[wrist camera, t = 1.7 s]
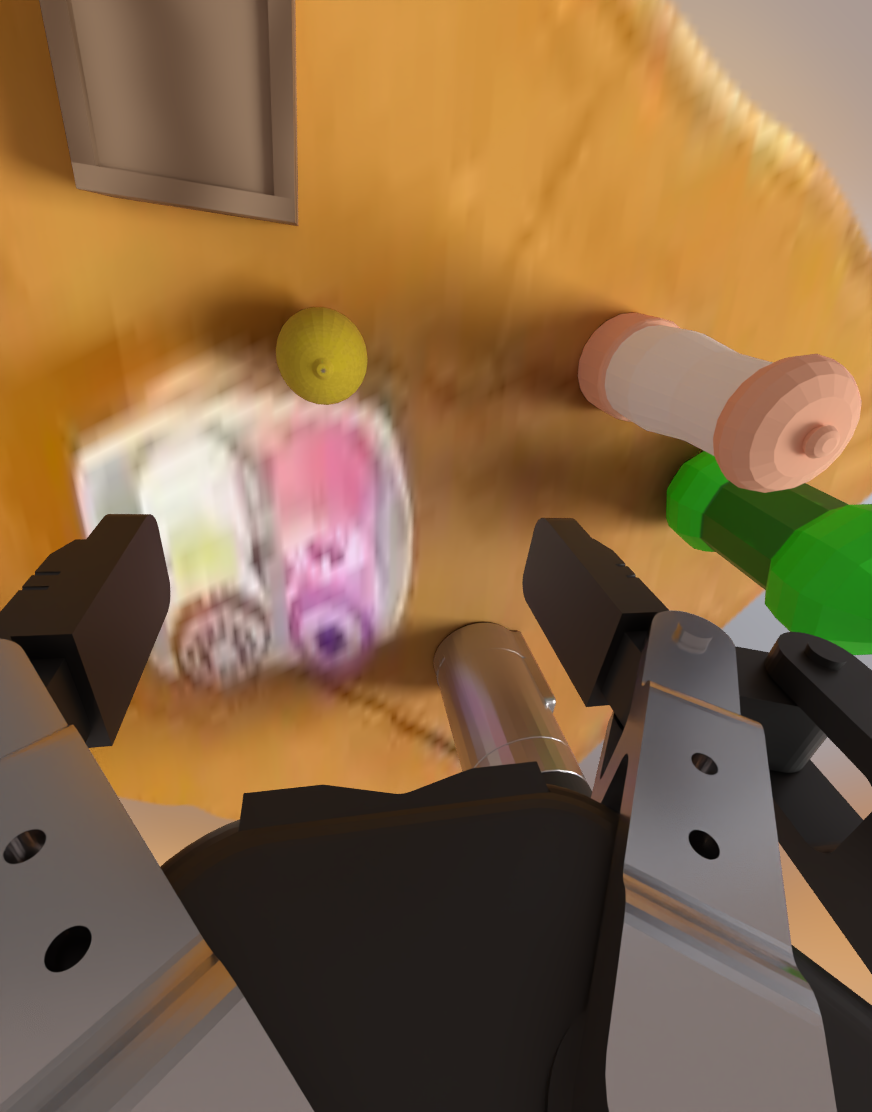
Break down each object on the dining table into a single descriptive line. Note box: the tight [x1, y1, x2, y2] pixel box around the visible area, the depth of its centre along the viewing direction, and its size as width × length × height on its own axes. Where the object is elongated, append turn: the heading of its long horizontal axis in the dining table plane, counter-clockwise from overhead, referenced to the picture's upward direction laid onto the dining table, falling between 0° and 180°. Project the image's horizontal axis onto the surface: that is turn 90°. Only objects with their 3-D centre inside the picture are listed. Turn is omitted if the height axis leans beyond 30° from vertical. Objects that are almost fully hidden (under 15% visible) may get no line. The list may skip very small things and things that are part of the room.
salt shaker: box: [578, 313, 861, 493], centre depth 31 cm, size 7×7×19 cm
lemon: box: [276, 307, 368, 405], centre depth 31 cm, size 6×6×8 cm
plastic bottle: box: [666, 451, 872, 655], centre depth 36 cm, size 10×10×25 cm
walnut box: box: [39, 0, 298, 226], centre depth 24 cm, size 10×10×6 cm
